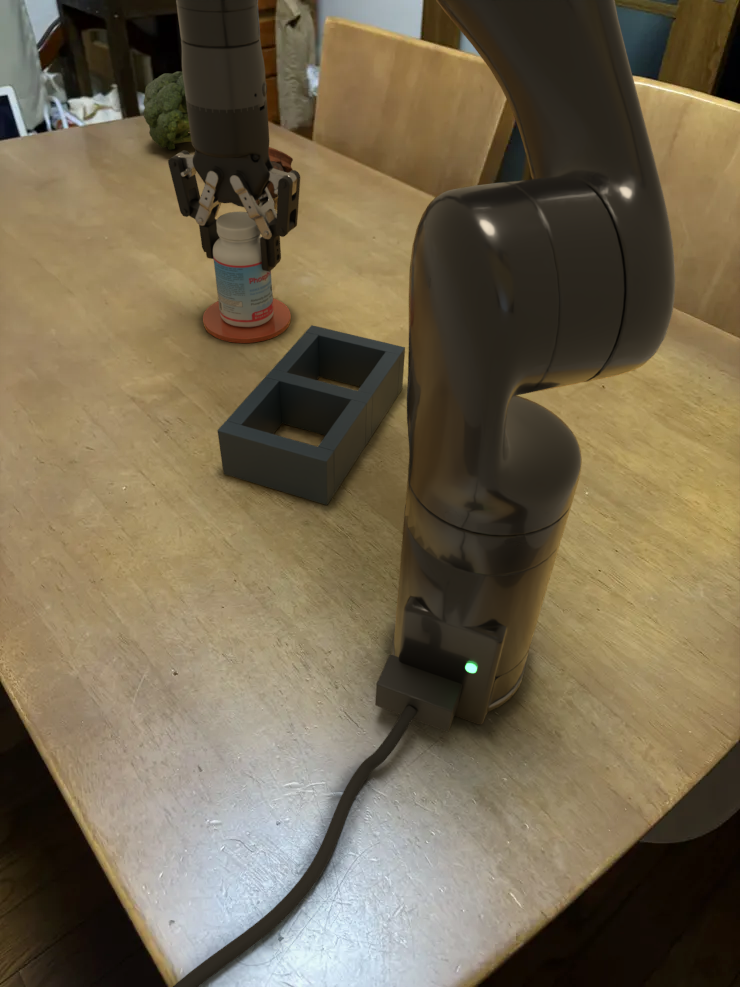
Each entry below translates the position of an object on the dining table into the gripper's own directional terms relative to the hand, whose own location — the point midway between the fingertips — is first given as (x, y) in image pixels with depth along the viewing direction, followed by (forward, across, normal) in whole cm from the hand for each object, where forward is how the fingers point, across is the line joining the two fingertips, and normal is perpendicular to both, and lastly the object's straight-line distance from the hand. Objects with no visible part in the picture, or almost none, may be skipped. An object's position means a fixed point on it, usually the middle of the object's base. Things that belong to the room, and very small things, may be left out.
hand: (242, 261), depth 82 cm
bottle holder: (+7, +16, -15) cm, 23 cm away
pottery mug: (+7, -15, +33) cm, 37 cm away
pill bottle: (+7, 0, 0) cm, 7 cm away
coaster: (+7, 0, 0) cm, 7 cm away
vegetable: (+7, -36, +46) cm, 59 cm away
